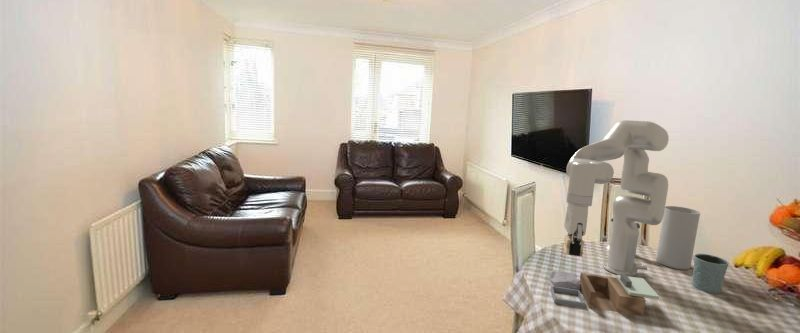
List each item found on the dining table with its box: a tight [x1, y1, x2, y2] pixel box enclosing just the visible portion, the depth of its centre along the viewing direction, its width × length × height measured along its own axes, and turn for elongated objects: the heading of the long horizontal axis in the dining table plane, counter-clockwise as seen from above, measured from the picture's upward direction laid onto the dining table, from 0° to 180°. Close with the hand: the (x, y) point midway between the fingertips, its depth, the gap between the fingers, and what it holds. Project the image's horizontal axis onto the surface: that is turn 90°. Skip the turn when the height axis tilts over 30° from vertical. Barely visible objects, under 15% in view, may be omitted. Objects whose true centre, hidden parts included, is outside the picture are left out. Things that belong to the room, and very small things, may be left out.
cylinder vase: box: [655, 205, 701, 270], centre depth 164 cm, size 12×12×25 cm
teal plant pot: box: [691, 253, 730, 294], centre depth 143 cm, size 10×10×12 cm
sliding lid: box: [615, 274, 660, 300], centre depth 126 cm, size 8×14×3 cm, turn 166°
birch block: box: [562, 234, 585, 257], centre depth 125 cm, size 5×5×5 cm
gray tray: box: [549, 285, 586, 309], centre depth 128 cm, size 9×9×2 cm
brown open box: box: [579, 272, 647, 317], centre depth 128 cm, size 16×15×6 cm
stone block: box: [549, 270, 581, 292], centre depth 141 cm, size 12×5×10 cm
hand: (572, 251), depth 125 cm, fingers closed on birch block, 4 cm apart
